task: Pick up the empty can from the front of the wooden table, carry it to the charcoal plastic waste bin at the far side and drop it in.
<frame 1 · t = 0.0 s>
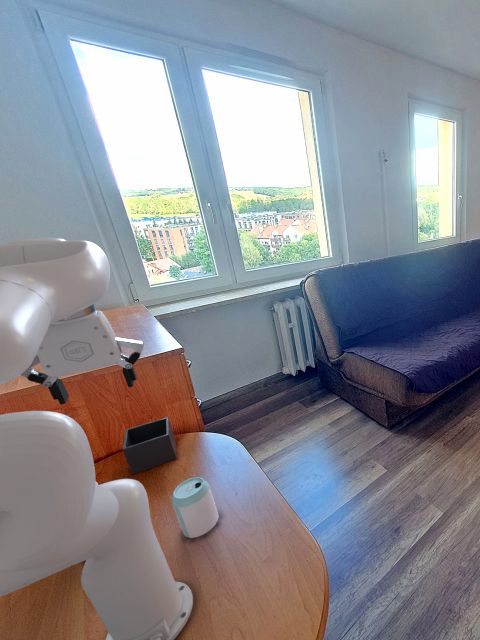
hand: (99, 392, 65), 37 cm above the table, tool pointing down, fingers open, 9 cm apart
can: (202, 525, 78), on the table
bin: (155, 456, 98), on the table
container: (81, 523, 79), on the table
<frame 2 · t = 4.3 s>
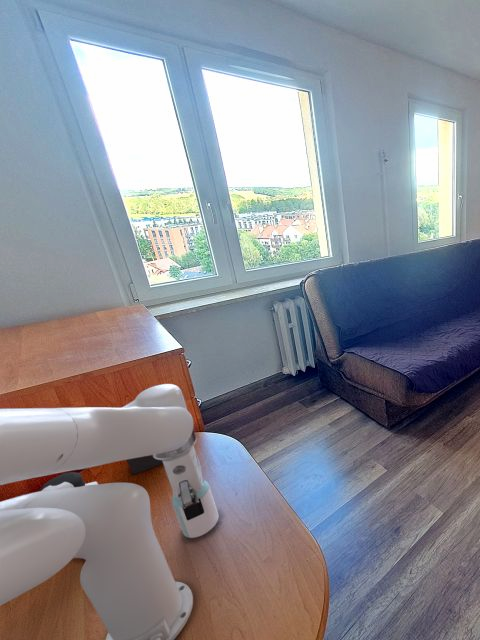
hand: (194, 503, 76), 7 cm above the table, tool pointing down, fingers closed on can, 7 cm apart
can: (202, 525, 78), on the table, touching gripper
everything else where it was.
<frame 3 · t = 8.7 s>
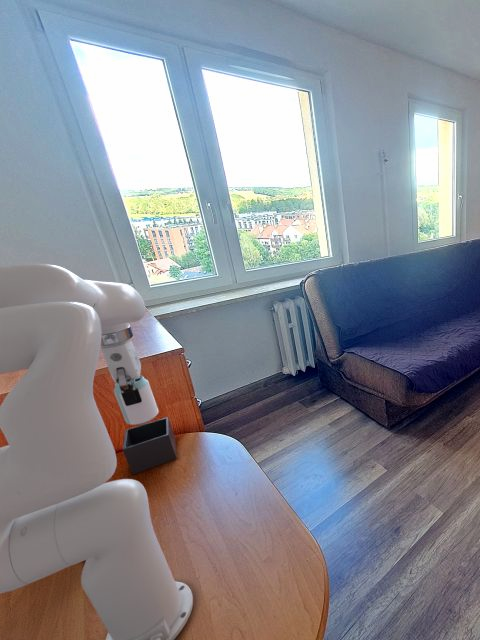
hand: (135, 396, 89), 22 cm above the table, tool pointing down, fingers closed on can, 7 cm apart
can: (143, 418, 91), point 15 cm above the table, touching gripper
everything else where it was.
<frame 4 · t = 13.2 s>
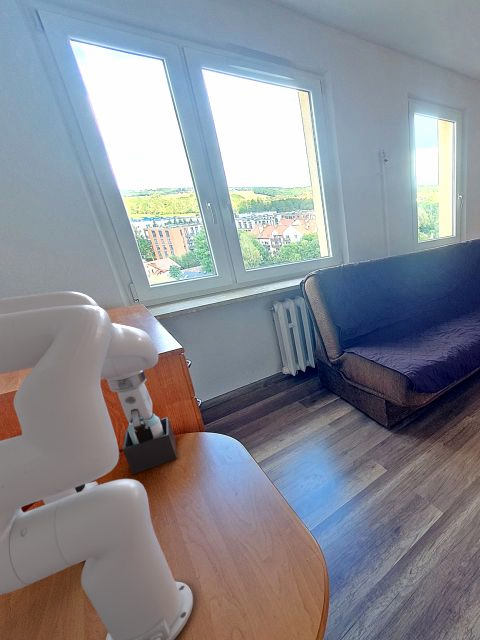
hand: (146, 432, 95), 9 cm above the table, tool pointing down, fingers closed on can, 7 cm apart
can: (154, 452, 98), point 1 cm above the table, touching gripper
everything else where it was.
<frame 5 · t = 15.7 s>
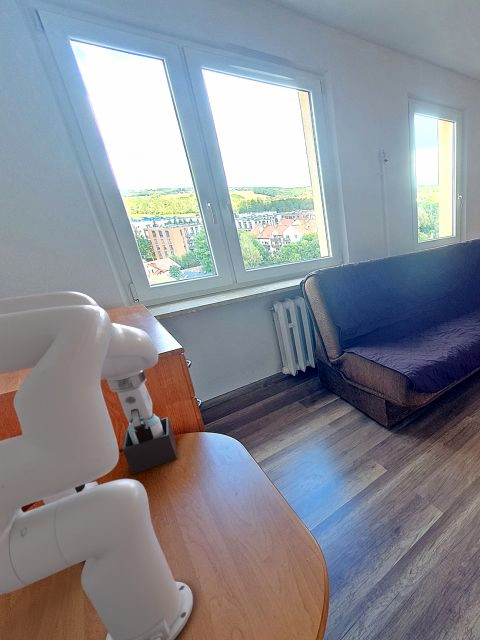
hand: (146, 432, 95), 9 cm above the table, tool pointing down, fingers closed on can, 7 cm apart
can: (154, 452, 98), point 1 cm above the table, touching gripper
everything else where it was.
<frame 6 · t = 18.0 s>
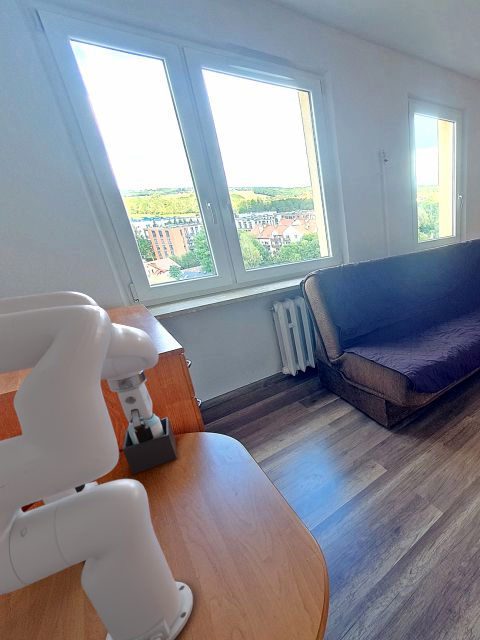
hand: (146, 432, 95), 9 cm above the table, tool pointing down, fingers closed on can, 7 cm apart
can: (154, 452, 98), point 1 cm above the table, touching gripper
everything else where it was.
when the fingers open (10 cm above the table, at t = 22.2 s): can drops 2 cm, resting on bin.
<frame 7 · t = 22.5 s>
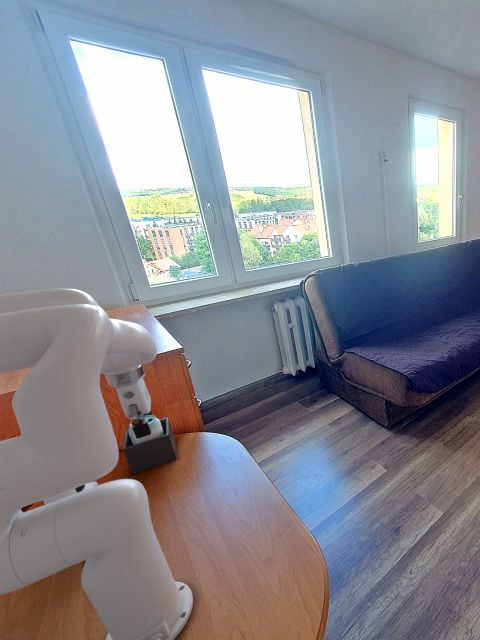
hand: (144, 426, 95), 11 cm above the table, tool pointing down, fingers open, 9 cm apart
can: (155, 454, 98), point 1 cm above the table, touching bin
everything else where it was.
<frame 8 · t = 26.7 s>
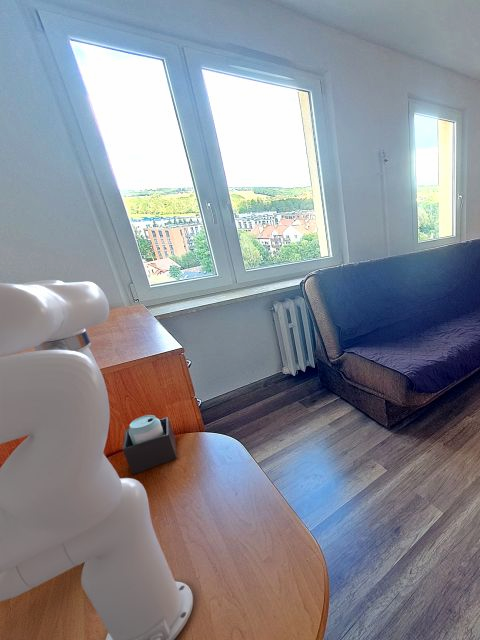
hand: (93, 414, 72), 28 cm above the table, tool pointing down, fingers open, 9 cm apart
nothing on the table moved.
at the end: can inside the target area in the bin (0.3 cm from its centre), point 0.6 cm above the bin's base; the gripper is holding nothing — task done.
